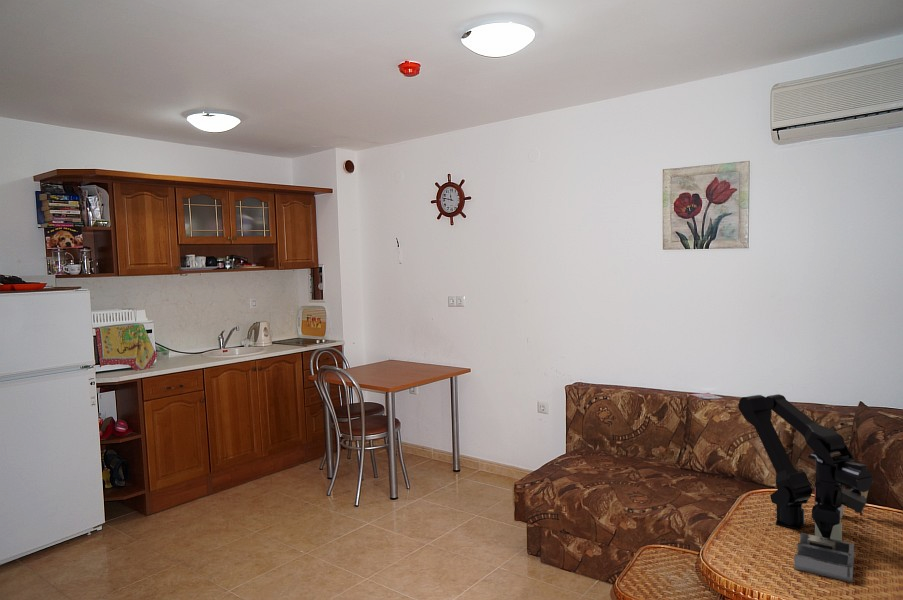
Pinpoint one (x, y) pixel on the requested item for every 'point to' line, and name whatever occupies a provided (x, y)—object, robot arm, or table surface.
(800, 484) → the robot arm
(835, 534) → the pale sage upright block
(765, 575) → the table surface
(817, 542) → the gray compartment tray
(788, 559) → the table surface
